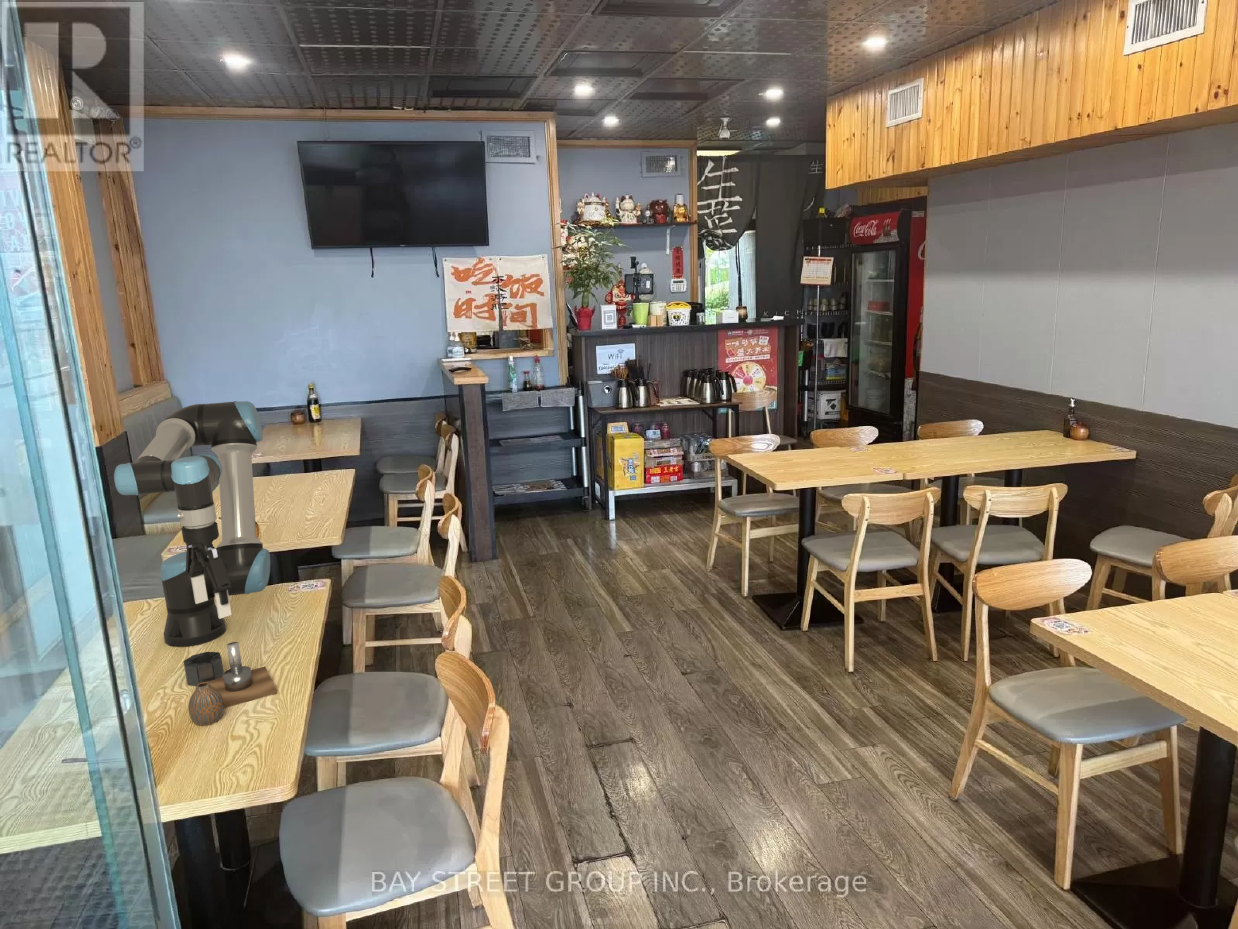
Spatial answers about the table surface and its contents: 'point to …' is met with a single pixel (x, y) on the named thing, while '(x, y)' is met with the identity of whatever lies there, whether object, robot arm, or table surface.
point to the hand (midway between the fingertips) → (213, 609)
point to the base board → (257, 690)
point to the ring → (203, 668)
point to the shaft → (236, 671)
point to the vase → (205, 704)
